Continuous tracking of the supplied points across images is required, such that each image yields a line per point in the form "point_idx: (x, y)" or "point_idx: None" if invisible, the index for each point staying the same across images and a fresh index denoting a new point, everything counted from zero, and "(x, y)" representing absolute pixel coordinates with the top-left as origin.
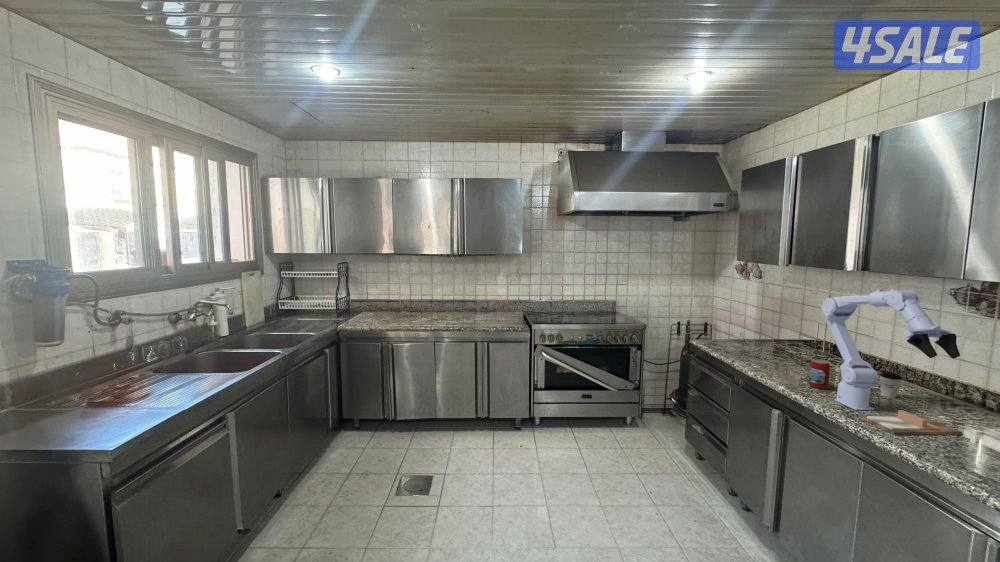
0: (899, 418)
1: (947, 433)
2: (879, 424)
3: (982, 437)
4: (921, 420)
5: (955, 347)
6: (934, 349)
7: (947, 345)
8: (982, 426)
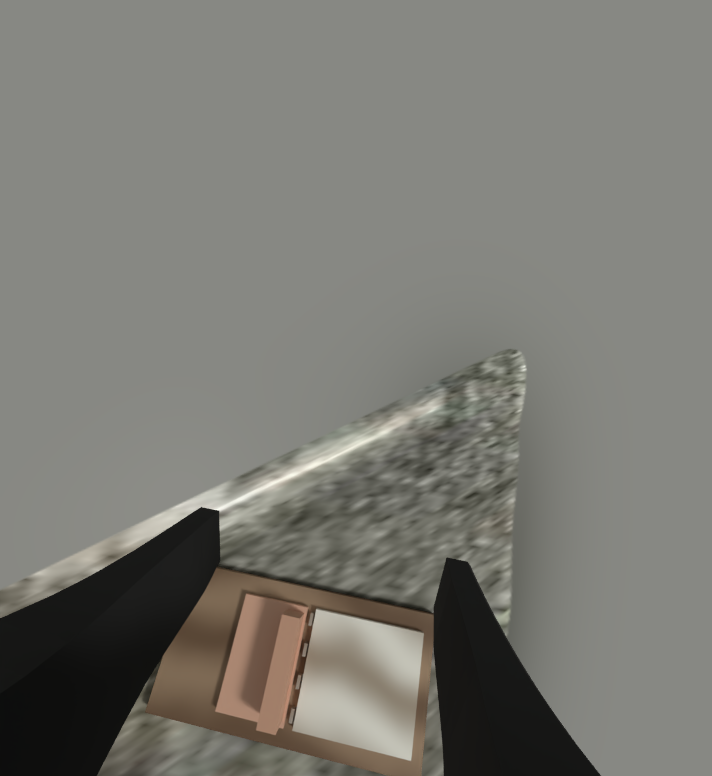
0: (287, 708)
1: (243, 572)
2: (424, 684)
3: (157, 534)
4: (299, 623)
5: (147, 562)
6: (461, 602)
7: (117, 667)
8: (31, 596)
